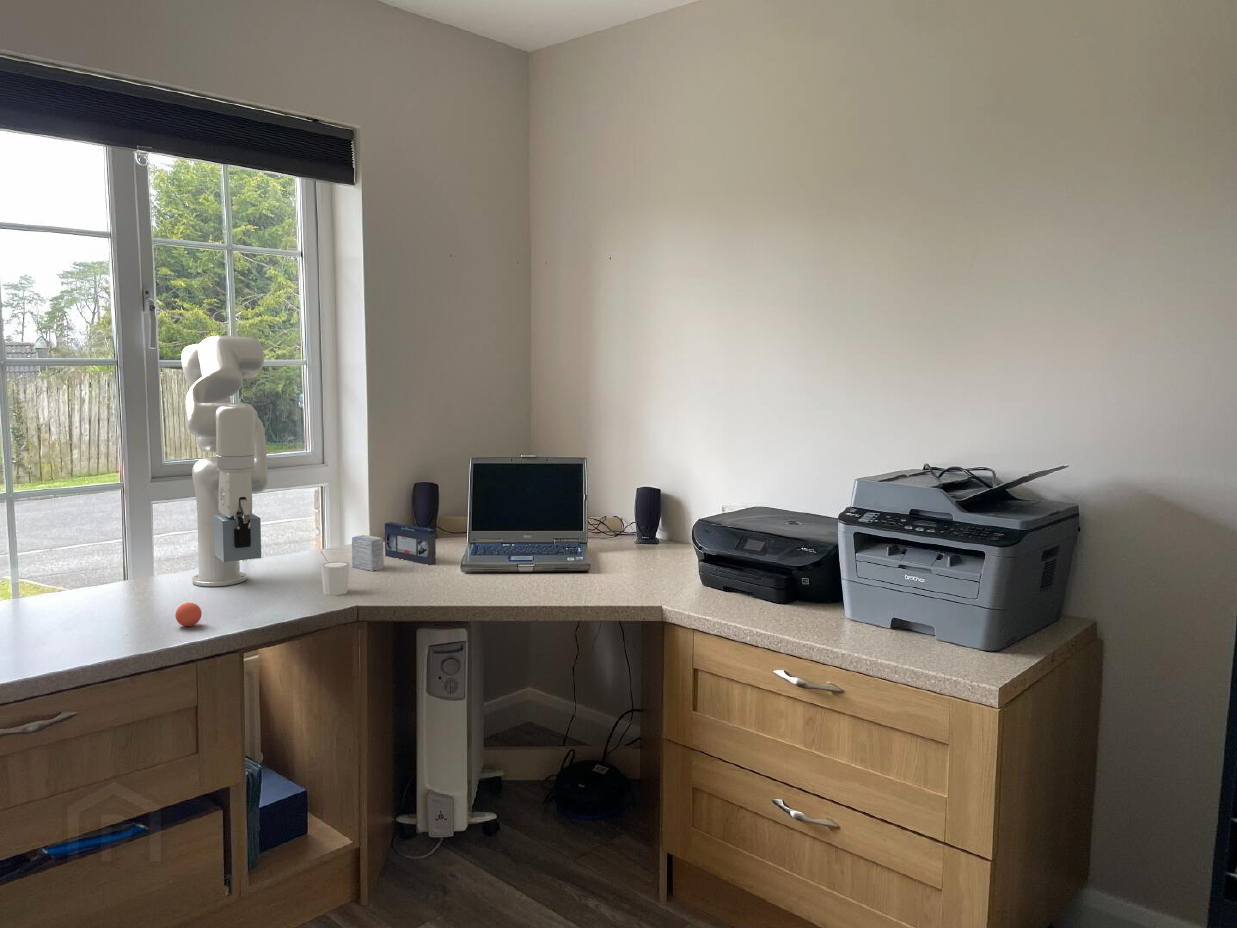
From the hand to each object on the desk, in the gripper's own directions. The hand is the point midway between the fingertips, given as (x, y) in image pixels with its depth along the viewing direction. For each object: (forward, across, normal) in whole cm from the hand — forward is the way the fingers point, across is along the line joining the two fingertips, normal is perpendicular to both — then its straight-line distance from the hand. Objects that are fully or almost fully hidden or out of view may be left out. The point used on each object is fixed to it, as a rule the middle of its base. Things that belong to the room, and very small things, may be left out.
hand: (237, 543), depth 196 cm
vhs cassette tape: (+17, -35, +55) cm, 68 cm away
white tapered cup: (+17, -11, +25) cm, 32 cm away
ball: (+14, +1, -10) cm, 18 cm away
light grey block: (+17, -31, +41) cm, 54 cm away
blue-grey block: (+3, 0, 0) cm, 3 cm away
